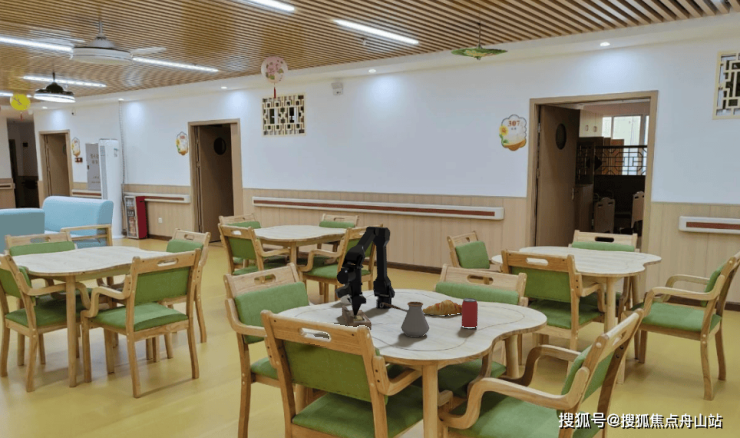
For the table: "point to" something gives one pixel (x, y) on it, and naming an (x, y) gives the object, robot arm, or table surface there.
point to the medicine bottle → (345, 298)
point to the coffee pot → (413, 319)
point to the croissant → (443, 308)
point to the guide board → (350, 319)
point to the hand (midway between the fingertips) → (355, 315)
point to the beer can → (469, 312)
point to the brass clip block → (357, 318)
